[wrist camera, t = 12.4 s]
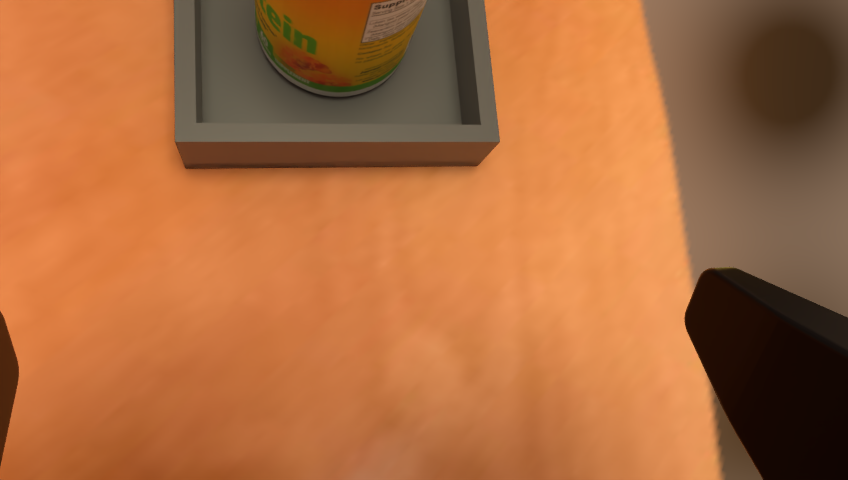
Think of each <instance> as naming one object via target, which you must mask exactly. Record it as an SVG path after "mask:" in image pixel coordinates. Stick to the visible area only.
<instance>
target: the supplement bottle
mask: <svg viewBox="0 0 848 480" xmlns="http://www.w3.org/2000/svg"><path fill="white" fill-rule="evenodd" d="M426 1H427V0H255V21H256V29H257V34H258V38H259V41H260V44H261V47H262V49H263V51H264V53H265V55H266V56H267V58H268V59H269V61H270V62H271V64H272V65H273V66H274V67H275V68H276V70H277V71H278V72H279V73H281V74H282V75H283V76H284V77H285V78H286V79H288V80H289V81H290V82H292V83H294V84H295V85H297V86H299V87H301V88H303V89H305V90H307V91H310V92H313V93H316V94H320V95H325V96H333V97H345V96H352V95H357V94H360V93H364V92H367V91H369V90H371V89H373V88H375V87H377V86H379V85H380V84H382V83H383V82H384V81H386V80H387V79H388V78H389V77H390V76H391V75H392V74H393V73H394V71H395V70H396V69H397V67H398V66H399V64H400V62H401V61H402V59H403V57H404V55H405V53H406V50H407V48H408V46H409V43H410V41H411V39H412V36H413V34H414V31H415V29H416V26H417V23H418V21H419V19H420V16H421V14H422V11H423V9H424V6H425V4H426Z"/></svg>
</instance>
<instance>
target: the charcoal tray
mask: <svg viewBox="0 0 848 480" xmlns="http://www.w3.org/2000/svg"><path fill="white" fill-rule="evenodd" d="M174 68H175V143H176V145H177V148H178V150H179V153H180V155H181V158H182V160H183V163H184V165H185V168H289V167H404V166H478V165H479V164H480V163H481V161H482V160H483V159H484V158H485V157H486V156H487V155H488V154H489V153H490V152H491V151H492V150H493V149H494V148H495V147H496V146H497V144H498V143H499V142H500V138H499V129H498V120H497V111H496V103H495V94H494V85H493V76H492V67H491V58H490V49H489V40H488V31H487V22H486V13H485V4H484V0H427V1H426V4H425V6H424V9H423V11H422V14H421V16H420V19H419V21H418V23H417V26H416V29H415V31H414V34H413V36H412V39H411V41H410V43H409V46H408V48H407V50H406V53H405V55H404V57H403V59H402V61H401V62H400V64H399V66H398V67H397V69H396V70H395V71H394V73H393V74H392V75H391V76H390V77H389V78H388V79H387V80H386V81H384V82H383V83H382V84H380V85H379V86H377V87H375V88H373V89H371V90H369V91H367V92H364V93H360V94H357V95H352V96H345V97H333V96H325V95H320V94H316V93H313V92H310V91H307V90H305V89H303V88H301V87H299V86H297V85H295V84H294V83H292V82H290V81H289V80H288V79H286V78H285V77H284V76H283V75H282V74H281V73H279V72H278V71H277V70H276V68H275V67H274V66H273V65H272V64H271V62H270V61H269V59H268V58H267V56H266V55H265V53H264V51H263V49H262V47H261V44H260V41H259V38H258V34H257V29H256V21H255V0H174Z"/></svg>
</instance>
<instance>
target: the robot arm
mask: <svg viewBox="0 0 848 480" xmlns="http://www.w3.org/2000/svg"><path fill="white" fill-rule="evenodd" d="M685 326H686V330H687V332H688V334H689V337H690V339H691V341H692V343H693V345H694V347H695V350H696V352H697V354H698V356H699V358H700V360H701V363H702V365H703V367H704V369H705V371H706V373H707V376H708V378H709V380H710V382H711V384H712V386H713V388H714V391H715V393H716V395H717V397H718V399H719V401H720V404H721V406H722V408H723V410H724V412H725V414H726V416H727V418H728V420H729V422H730V423H731V425H732V427H733V429H734V431H735V433H736V434H737V436H738V438H739V439H740V441H741V443H742V445H743V446H744V448H745V450H746V451H747V453H748V455H749V456H750V458H751V460H752V462H753V463H754V465H755V467H756V468H757V470H758V472H759V474H760V475H761V477H762V479H763V480H848V318H847V317H845V316H843V315H841V314H838V313H836V312H834V311H832V310H829V309H827V308H825V307H823V306H820V305H818V304H816V303H814V302H811V301H809V300H807V299H805V298H802V297H800V296H798V295H796V294H793V293H791V292H789V291H787V290H784V289H782V288H780V287H778V286H775V285H773V284H771V283H768V282H766V281H764V280H762V279H759V278H757V277H755V276H753V275H751V274H748V273H746V272H744V271H742V270H739V269H737V268H732V267H723V268H709V269H707V270H705V271H704V272H703V273H702V274H701V275H700V277H699V279H698V282H697V284H696V287H695V289H694V292H693V294H692V297H691V299H690V302H689V304H688V307H687V309H686V312H685ZM18 378H19V366H18V361H17V357H16V354H15V351H14V348H13V344H12V341H11V338H10V335H9V332H8V329H7V326H6V322H5V319H4V317H3V315H2V313H1V312H0V466H1V461H2V456H3V451H4V447H5V442H6V437H7V432H8V427H9V423H10V418H11V413H12V408H13V404H14V399H15V394H16V389H17V385H18Z"/></svg>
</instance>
